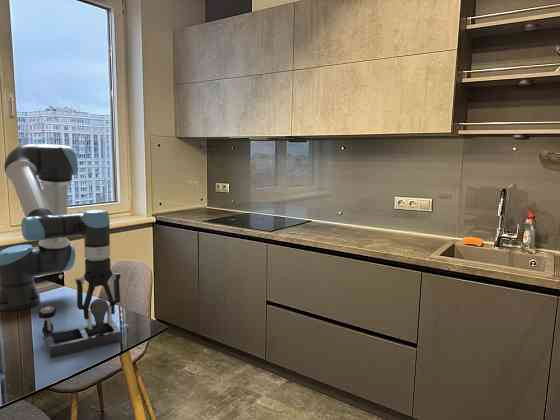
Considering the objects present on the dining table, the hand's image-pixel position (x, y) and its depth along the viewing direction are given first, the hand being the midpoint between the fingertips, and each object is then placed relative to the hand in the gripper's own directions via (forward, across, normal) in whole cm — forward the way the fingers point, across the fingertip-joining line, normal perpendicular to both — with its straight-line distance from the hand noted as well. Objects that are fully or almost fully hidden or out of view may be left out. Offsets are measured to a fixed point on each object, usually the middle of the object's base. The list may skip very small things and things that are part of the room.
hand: (99, 325), depth 134 cm
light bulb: (+1, 0, 0) cm, 1 cm away
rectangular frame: (+5, -5, 0) cm, 7 cm away
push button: (+5, -14, +11) cm, 19 cm away
